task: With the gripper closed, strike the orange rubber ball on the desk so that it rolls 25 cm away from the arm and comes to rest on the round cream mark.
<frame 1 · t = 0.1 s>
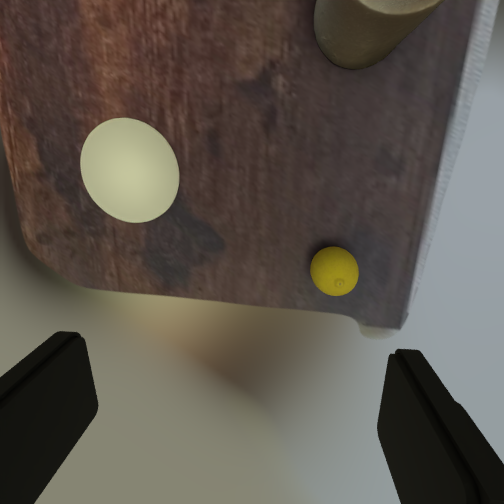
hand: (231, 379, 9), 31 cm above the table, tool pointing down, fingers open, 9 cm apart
lemon: (328, 258, 41), on the table
pillar candle: (358, 16, 32), on the table
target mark: (130, 172, 39), on the table
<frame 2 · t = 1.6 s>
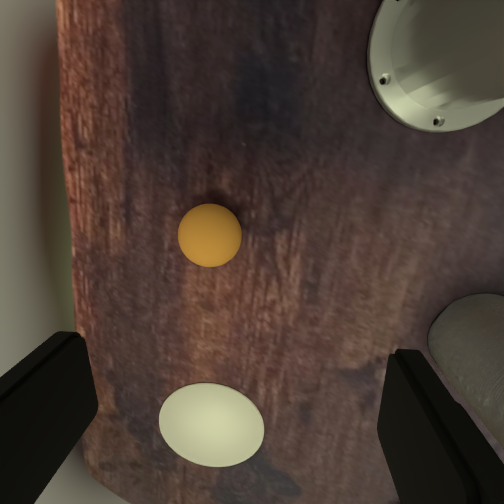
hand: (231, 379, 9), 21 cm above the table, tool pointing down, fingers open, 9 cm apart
ball: (210, 235, 27), on the table
pillar candle: (474, 333, 31), on the table
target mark: (211, 426, 37), on the table
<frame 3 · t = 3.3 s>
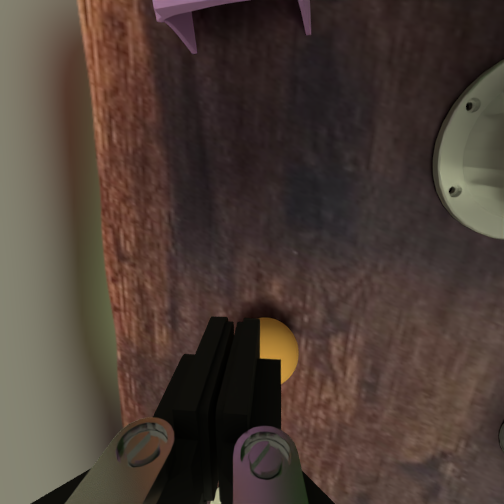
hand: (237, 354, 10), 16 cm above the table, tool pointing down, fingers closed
ball: (264, 351, 25), on the table
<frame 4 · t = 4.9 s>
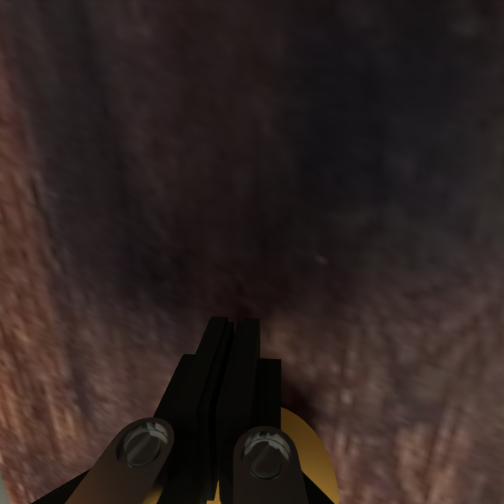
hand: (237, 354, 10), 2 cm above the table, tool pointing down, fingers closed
ball: (260, 487, 11), on the table
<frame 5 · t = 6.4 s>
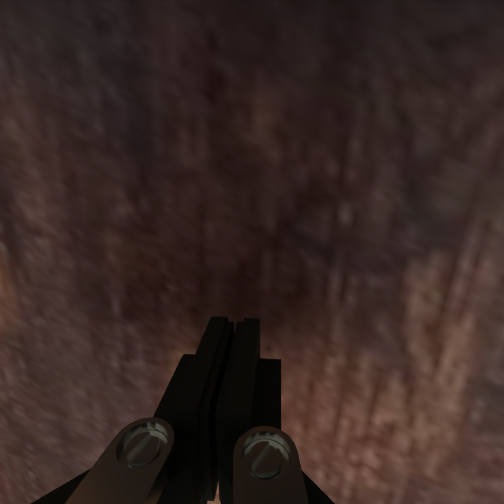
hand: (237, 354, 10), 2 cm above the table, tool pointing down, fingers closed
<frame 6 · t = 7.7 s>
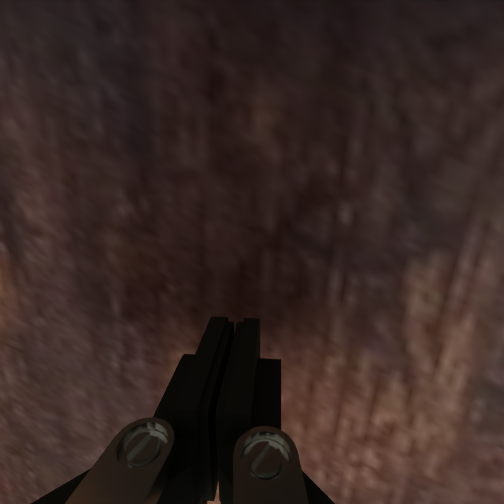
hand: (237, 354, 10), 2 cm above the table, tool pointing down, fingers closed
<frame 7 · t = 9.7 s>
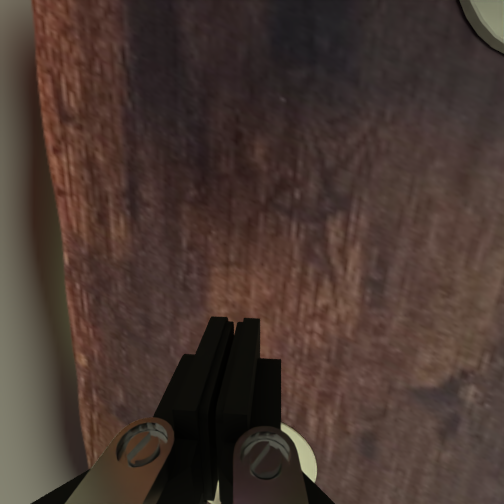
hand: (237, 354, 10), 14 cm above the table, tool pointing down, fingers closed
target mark: (249, 467, 30), on the table
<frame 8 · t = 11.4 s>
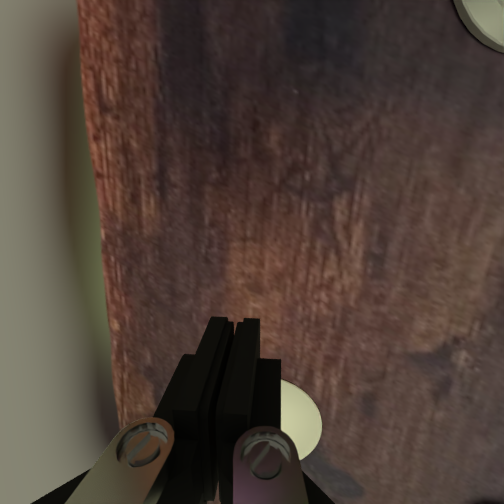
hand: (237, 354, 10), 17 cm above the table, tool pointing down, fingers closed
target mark: (261, 423, 34), on the table
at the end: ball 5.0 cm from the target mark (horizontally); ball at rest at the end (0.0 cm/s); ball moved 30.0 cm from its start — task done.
